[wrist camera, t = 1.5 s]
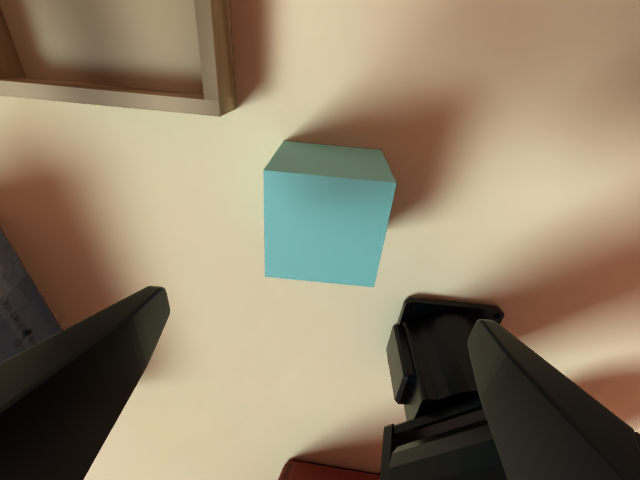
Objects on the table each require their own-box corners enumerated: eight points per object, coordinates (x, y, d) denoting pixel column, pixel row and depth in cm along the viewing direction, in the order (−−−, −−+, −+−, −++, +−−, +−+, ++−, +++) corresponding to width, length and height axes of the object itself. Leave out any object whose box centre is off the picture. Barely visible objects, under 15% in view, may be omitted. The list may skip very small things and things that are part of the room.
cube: (380, 149, 16) (396, 182, 11) (365, 233, 18) (374, 287, 14) (284, 140, 16) (263, 170, 11) (282, 225, 18) (265, 276, 14)
